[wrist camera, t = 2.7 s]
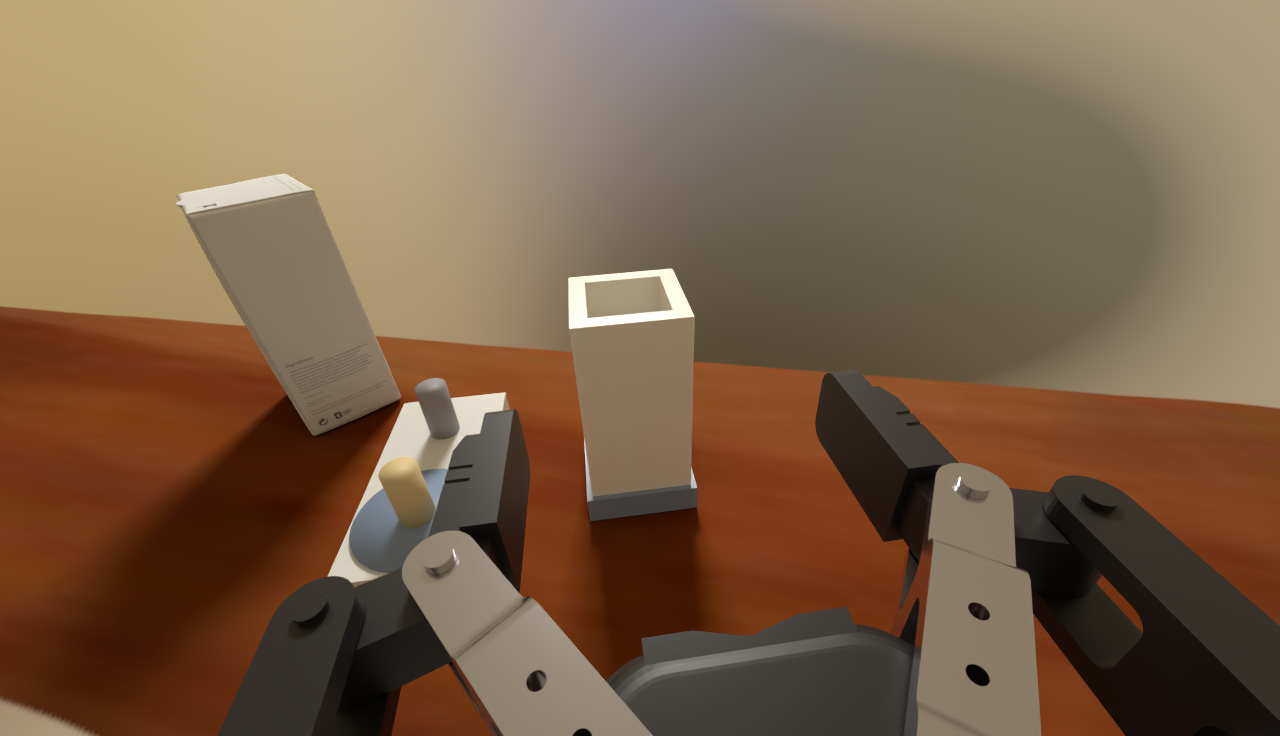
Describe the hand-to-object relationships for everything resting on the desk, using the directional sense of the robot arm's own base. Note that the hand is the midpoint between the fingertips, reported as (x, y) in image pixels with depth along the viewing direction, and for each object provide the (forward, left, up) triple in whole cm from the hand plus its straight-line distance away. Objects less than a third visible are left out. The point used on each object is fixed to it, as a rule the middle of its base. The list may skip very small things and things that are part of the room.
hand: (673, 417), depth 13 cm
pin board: (+1, +17, -14) cm, 22 cm away
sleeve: (+8, +8, -14) cm, 18 cm away
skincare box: (+2, +32, -14) cm, 35 cm away
